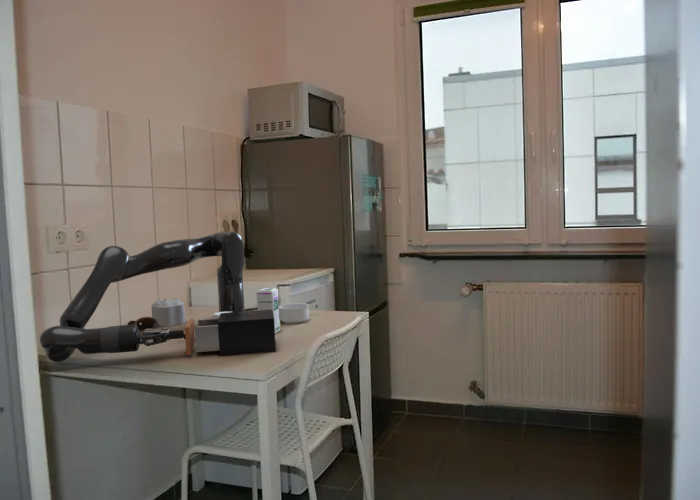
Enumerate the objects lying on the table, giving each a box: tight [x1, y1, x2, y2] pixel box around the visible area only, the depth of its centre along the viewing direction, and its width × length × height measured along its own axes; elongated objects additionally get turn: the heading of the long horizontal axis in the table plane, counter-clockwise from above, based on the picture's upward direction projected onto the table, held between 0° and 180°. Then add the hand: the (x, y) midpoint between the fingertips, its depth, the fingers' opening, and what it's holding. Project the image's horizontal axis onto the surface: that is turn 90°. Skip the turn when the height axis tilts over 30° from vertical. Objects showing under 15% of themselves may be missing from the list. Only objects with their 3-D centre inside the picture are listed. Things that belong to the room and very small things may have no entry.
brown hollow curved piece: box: [126, 316, 160, 331], centre depth 183 cm, size 12×10×8 cm
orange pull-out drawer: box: [183, 317, 220, 356], centre depth 164 cm, size 16×13×8 cm
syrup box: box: [255, 287, 282, 335], centre depth 186 cm, size 6×6×14 cm
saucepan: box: [279, 299, 317, 325], centre depth 206 cm, size 12×20×6 cm, turn 150°
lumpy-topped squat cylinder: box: [150, 298, 186, 328], centre depth 208 cm, size 10×13×9 cm
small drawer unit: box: [218, 309, 277, 357], centre depth 166 cm, size 16×14×10 cm
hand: (183, 334), depth 160 cm, fingers closed
